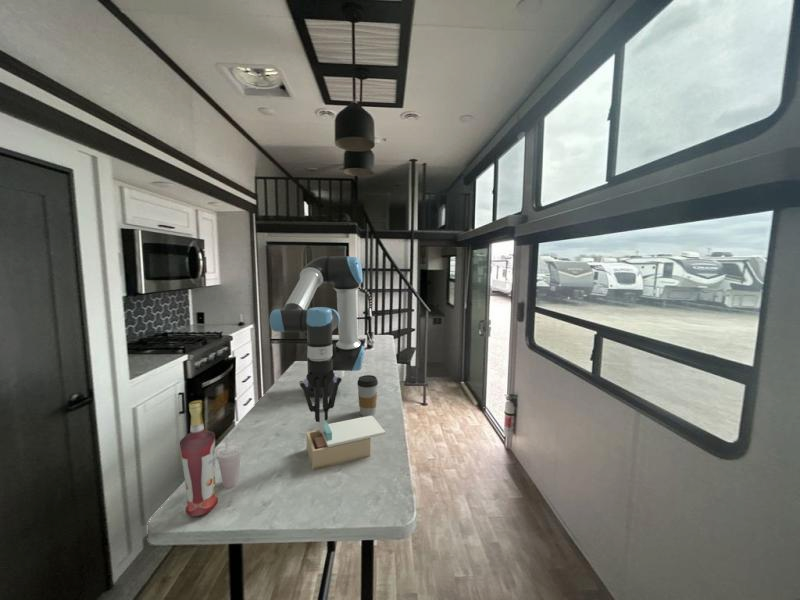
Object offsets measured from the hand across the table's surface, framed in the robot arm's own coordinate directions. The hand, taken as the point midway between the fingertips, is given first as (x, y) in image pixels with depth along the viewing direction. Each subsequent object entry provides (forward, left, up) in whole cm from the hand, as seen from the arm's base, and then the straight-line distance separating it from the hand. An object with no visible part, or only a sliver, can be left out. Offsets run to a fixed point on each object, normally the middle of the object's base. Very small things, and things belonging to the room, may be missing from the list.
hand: (321, 430), depth 104 cm
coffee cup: (-22, +23, -9) cm, 33 cm away
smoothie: (+3, -26, -9) cm, 27 cm away
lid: (0, +10, -2) cm, 10 cm away
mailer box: (0, +5, -9) cm, 10 cm away
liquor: (+11, -32, -9) cm, 35 cm away
